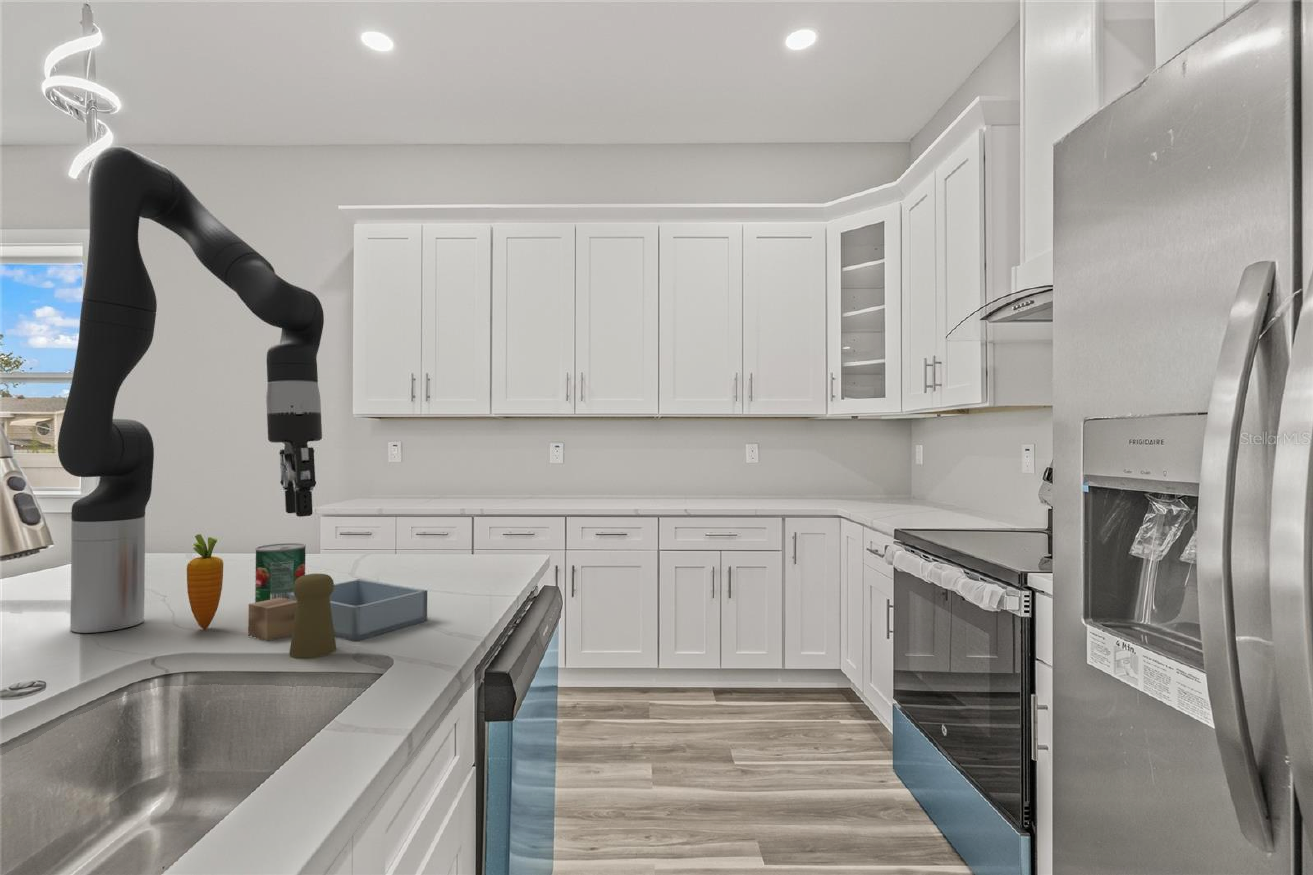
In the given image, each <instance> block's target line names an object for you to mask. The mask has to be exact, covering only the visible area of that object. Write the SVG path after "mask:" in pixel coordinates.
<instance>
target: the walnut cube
mask: <svg viewBox="0 0 1313 875" xmlns="http://www.w3.org/2000/svg"><path fill="white" fill-rule="evenodd" d="M296 605H297V601H294V600H290V599H285V598H276V599H271V600H266V601H261V602H256V603H255V602H252V603H248V619H247V620H248V622H247V624H248V626H247V627H248V628H247V629H248V630H247V631H248V634H247V636H248V637H250V636H252V637H251V638H253V637H256V638H255V639H257V638H259V639H258V640H261V639H262V641H264V640H265V642H269V641H273V639H274V640H277V639H276V638H278V639H281V638H280V637H282V638H285V637H284V636H286V637H289V636H292V632H293V625H294V619H295V612H296Z"/></svg>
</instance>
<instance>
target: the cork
mask: <svg viewBox="0 0 1313 875" xmlns="http://www.w3.org/2000/svg"><path fill="white" fill-rule="evenodd" d="M334 584H335V582H334V579H333V578H332V577H331V575H329V574H326V573H309V574H308V573H307V574H305V575H304V576H301V577H299V578H297V579H296V581H295V582H294V585H293V592H294V596H295V597H296V598H297V605H296V612H295V619H294V625H293V632H292V635H291V639H290V646H289V650H288V651H289V653H288V655H289V658H290V657H291V658H292V659H300V660H301V659H302V660H303V659H305V660H306V659H315V658H316V659H317V658H321V657H326V656H328V655H331V654H333V653H335V652H336V650H337V644H336V636H335V635H334V627H333V620H332V612H331V605H330V598H329V596H330V595H331V593H332V592H333V589H334Z"/></svg>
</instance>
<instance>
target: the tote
mask: <svg viewBox="0 0 1313 875" xmlns="http://www.w3.org/2000/svg"><path fill="white" fill-rule="evenodd" d="M329 598H330V605H331V612H332V620H333V627H334V635H335V638H336V637H337V638H341V639H344V640H348V641H352V642H357V641H360V640H361V641H362V640H364V639H368V638H371V637H375V636H379V635H382V634H385V633H389V632H392V631H395V630H398V629H399V630H400V629H403V628H407V627H409V626H410V627H411V626H413V625H416V624H420V623H423V622H427V621H428V590H427V589H426V590H425V589H420V588H414V587H408V586H402V585H397V584H391V583H385V582H379V581H373V580H367V579H364V578H362V579H361V578H358V579H357V578H356V579H352V580H347V581H344V582H338V583H334V589H333V592H332V593H331V595H330V596H329ZM286 599H290V600H294V601H297V598H296V597H295V596H294V592H292V593H287V594H286Z"/></svg>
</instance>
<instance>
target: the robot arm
mask: <svg viewBox="0 0 1313 875" xmlns="http://www.w3.org/2000/svg"><path fill="white" fill-rule="evenodd" d="M88 193H89V198H88V199H89V240H88V249H87V250H88V251H87V252H88V253H87V262H86V263H87V265H86V275H85V282H84V288H83V295H82V301H81V309H80V317H79V319H80V320H79V331H78V340H77V341H78V342H77V348H76V354H75V361H74V367H73V368H74V369H73V373H72V380H71V383H70V387H69V392H68V397H67V400H66V405H65V408H64V412H63V416H62V419H61V423H60V427H59V428H60V429H59V434H58V439H57V440H58V441H57V455H58V456H57V457H58V461H59V462H60V465H61V466H62V468H63V469H64V470H65V471H66V472H67V473H68V474H70V475H72V476H74V477H79V478H97V477H99V482H98V485H97V486H96V488H95V489H94V490H93V491H92V492H91V493H89V494H88V495H86V496H84V497H81V498H79V499H78V500H76V501H75V502H74V503H73V504H72V506H71V510H70V511H71V512H70V513H71V516H70V519H71V523H70V524H71V531H70V533H71V534H70V535H71V536H70V537H71V542H70V544H71V548H70V552H71V553H70V554H71V555H70V556H71V558H70V562H71V563H70V565H71V566H70V568H71V569H70V617H69V618H70V623H69V624H70V625H69V627H70V631H71V632H73V633H83V634H85V633H86V634H87V633H100V632H101V633H102V632H109V631H116V630H122V629H125V628H126V629H127V628H129V627H133V626H137V625H140V624H141V623H143V622H144V621H145V582H146V581H145V580H146V578H145V577H146V576H145V575H146V573H145V572H146V571H145V570H146V569H145V568H146V561H145V560H146V508H147V505H148V503H149V501H150V498H151V496H152V488H153V487H152V486H153V484H152V483H153V476H154V475H153V473H154V462H155V461H154V460H155V458H154V457H155V447H154V440H153V437H152V435H151V433H150V430H149V429H148V428H147V427H146V426H145V425H144V424H143V423H142V422H139V421H137V420H134V419H123V418H114V411H115V404H116V400H117V397H118V393H119V391H120V389H121V386H122V385H123V383H124V382H125V380H126V378H127V377H128V376H129V374H130V373H131V372H132V371H133V370H134V369H135V367H136V366H137V365H138V364H139V362H140V361H141V360H142V359H143V357H144V356H145V354H146V353H147V351H149V348H150V347H151V345H152V343H153V339H154V333H155V332H154V331H155V327H156V317H157V310H158V308H157V307H158V306H157V304H158V302H157V296H156V292H155V288H154V285H153V283H152V280H151V276H150V275H149V272H148V270H147V267H146V265H145V262H144V259H143V256H142V254H141V250H140V243H139V228H140V219H141V218H142V219H147V220H148V219H149V220H150V221H153V222H155V223H156V224H159V225H161V226H162V227H164V228H166V229H168V230H169V231H171V232H173V233H174V234H176V236H177V235H178V236H179V237H180V238H181V239H183V241H185V242H186V244H188V245H189V247H190V248H191V250H192V252H193V253H194V255H195V256H196V258H197V260H199V262H200V263H201V264H202V265H203V266H204V267H205V268H206V269H207V270H208V271H209V272H210V273H212V275H213V276H215V277H216V278H217V279H219V281H221V282H222V283H223V284H225V285H226V286H227V287H228V288H229V289H231V290H233V292H235V293H236V295H237V296H238V297H239V298H240V300H241V301H242V302H243V303H244V305H246V307H247V308H248V309H249V310H250V311H251V313H252V314H253V315H254V316H256V317H257V318H258V319H260V320H261V321H263V322H265V324H268V325H269V326H273V327H276V328H280V329H281V335H280V341H279V344H275V345H272V346H270V347H269V348H268V350H267V352H266V376H267V388H266V389H267V390H266V397H265V398H266V400H265V401H266V420H267V422H266V423H267V425H266V426H267V440H268V441H269V442H270V443H277V444H280V443H281V444H283V445H284V448H283V449H280V450H279V457H280V458H279V462H280V465H279V466H280V485H281V486H282V488H283V489H282V490H283V491H284V504H285V512H286V513H287V514H295V515H296V516H297V517H310V516H312V515H313V513H314V512H313V494H312V493H313V492H312V491H314V488H315V487H316V484H317V481H316V470H315V468H316V466H315V449H314V447H313V446H311V447H309V444H308V443H309V442H317V441H318V442H319V441H321V440H322V439H323V430H322V429H323V428H322V427H323V426H322V406H321V404H322V402H321V393H320V388H319V383H318V382H319V380H318V379H319V377H318V376H319V374H318V361H317V358H318V357H317V355H318V352H319V348H320V346H321V345H320V344H321V339H322V336H323V329H324V323H325V322H324V321H325V320H324V318H325V316H324V309H323V306H322V303H321V301H320V300H319V297H318V296H316V295H315V294H314V293H313V292H311V291H310V290H307V289H305V288H302V287H299V286H298V285H297V286H296V285H294V284H292V283H289V282H288V281H286V280H285V279H283V278H282V277H280V276H279V275H278V274H276V271H275V269H274V266H273V265H272V264H271V263H270V262H269V261H268V260H267V258H265V257H264V256H263V255H261V254H260V253H259V252H257V250H256V249H254V248H253V247H251V245H249V244H248V243H247V242H245V241H244V240H243V239H242V238H241V237H239V236H238V235H237V234H236V233H234V232H233V231H231V230H230V229H229V228H228V227H226V226H225V225H224V224H223V223H222V222H221V221H219V220H218V218H216V216H214V215H213V214H212V213H211V212H210V211H209V210H208V209H207V208H206V207H205V205H203V204H202V203H201V202H200V200H198V198H197V197H196V196H195V195H194V193H193V192H192V191H191V190H190V189H189V188H188V187H187V185H186V184H185V183H184V182H183V181H182V180H181V179H180V177H179V176H177V175H176V174H175V173H174V172H173V171H172V170H171V169H170V168H168V167H167V166H165V165H163V164H162V163H159V162H157V161H155V160H153V159H151V158H150V157H148V156H145V155H144V154H141V153H139V152H137V151H135V150H133V149H131V148H128V147H125V146H121V145H113V146H109V147H106V148H105V149H103V150H101V151H100V153H99V154H98V155H97V156H96V158H94V161H93V164H92V166H91V170H90V177H89V192H88Z"/></svg>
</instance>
